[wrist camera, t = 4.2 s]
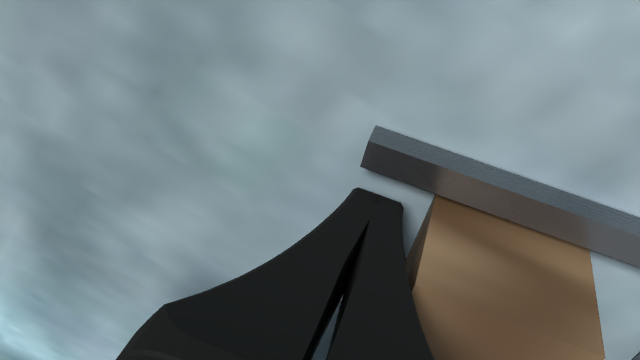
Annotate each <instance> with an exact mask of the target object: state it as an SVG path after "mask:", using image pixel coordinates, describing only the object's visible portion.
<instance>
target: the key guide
mask: <svg viewBox="0 0 640 360" xmlns="http://www.w3.org/2000/svg"><path fill="white" fill-rule="evenodd" d="M360 167H363V168H365V169H368V170H371V171H374V172H377V173H379V174H382V175H385V176H388V177H390V178H393V179H396V180H399V181H401V182H404V183H407V184H410V185H413V186H415V187H418V188H421V189H424V190H426V191H429V192H432V193H435V194H437V195H440V196H443V197H446V198H449V199H451V200H454V201H457V202H460V203H462V204H465V205H468V206H471V207H473V208H476V209H479V210H482V211H485V212H487V213H490V214H493V215H496V216H498V217H501V218H504V219H507V220H510V221H512V222H515V223H518V224H521V225H523V226H526V227H529V228H532V229H534V230H537V231H540V232H543V233H546V234H548V235H551V236H554V237H557V238H559V239H562V240H565V241H568V242H570V243H573V244H576V245H579V246H582V247H584V248H587V249H590V250H593V251H595V252H598V253H601V254H604V255H606V256H609V257H612V258H615V259H618V260H620V261H623V262H626V263H629V264H631V265H634V266H637V267H640V218H639V217H636V216H633V215H630V214H627V213H625V212H622V211H619V210H616V209H613V208H610V207H607V206H605V205H602V204H599V203H596V202H593V201H590V200H587V199H585V198H582V197H579V196H576V195H573V194H570V193H567V192H565V191H562V190H559V189H556V188H553V187H550V186H547V185H545V184H542V183H539V182H536V181H533V180H530V179H527V178H525V177H522V176H519V175H516V174H513V173H510V172H507V171H504V170H502V169H499V168H496V167H493V166H490V165H487V164H484V163H482V162H479V161H476V160H473V159H470V158H467V157H464V156H462V155H459V154H456V153H453V152H450V151H447V150H444V149H442V148H439V147H436V146H433V145H430V144H427V143H424V142H422V141H419V140H416V139H413V138H410V137H407V136H404V135H402V134H399V133H396V132H393V131H390V130H387V129H384V128H381V127H379V126H375V128H374V130H373V132H372V134H371V137H370V139H369V141H368V144H367V147H366V150H365V153H364V156H363V160H362V163H361V166H360ZM342 297H343V296H342ZM340 301H342V298H341V300H340ZM633 360H640V353H639V354H638V355H637V356H636V357H635V358H634V359H633Z"/></svg>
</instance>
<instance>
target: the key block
mask: <svg viewBox="0 0 640 360" xmlns="http://www.w3.org/2000/svg"><path fill="white" fill-rule="evenodd" d="M406 268H407V273H408V279H409V283H410V288H411V292H412V296H413V300H414V304H415V308H416V311H417V314H418V317H419V321H420V324H421V327H422V329H423V332H424V335H425V338H426V341H427V343H428V346H429V348H430V350H431V352H432V355H433V357H434V359H435V360H604V359H605V353H604V346H603V339H602V333H601V326H600V319H599V312H598V305H597V298H596V292H595V285H594V278H593V271H592V264H591V258H590V251H589V249H587V248H584V247H582V246H579V245H576V244H573V243H570V242H568V241H565V240H562V239H559V238H557V237H554V236H551V235H548V234H546V233H543V232H540V231H537V230H534V229H532V228H529V227H526V226H523V225H521V224H518V223H515V222H512V221H510V220H507V219H504V218H501V217H498V216H496V215H493V214H490V213H487V212H485V211H482V210H479V209H476V208H473V207H471V206H468V205H465V204H462V203H460V202H457V201H454V200H451V199H449V198H446V197H443V196H440V195H437V194H435V196H434V199H433V201H432V203H431V205H430V208H429V210H428V212H427V214H426V217H425V219H424V221H423V223H422V226H421V228H420V230H419V232H418V235H417V237H416V239H415V241H414V243H413V246H412V248H411V250H410V252H409V255H408V257H407V259H406Z"/></svg>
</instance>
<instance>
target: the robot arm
mask: <svg viewBox="0 0 640 360" xmlns="http://www.w3.org/2000/svg"><path fill="white" fill-rule="evenodd" d="M402 215H403V206H402V204H401V203H400V202H397V201H394V200H391V199H389V198H386V197H383V196H380V195H378V194H375V193H372V192H369V191H367V190H364V189H361V188H356V189H353V190H352V192H351V193H350V195H349V196H348V197H347V198H346V199H345V201H344V202H343V203H342V204H341V205H340V206H339V207H338V208H337V209H336V210H335V211H334V212H333V213H332V214H331V215H330V216H329V217H327V218H326V219H325V220H324V221H323V222H322V223H321V224H320V225H318V226H317V227H316V228H315V229H314V230H313V231H311V232H310V233H309V234H307V235H306V236H305V237H303V238H302V239H301V240H299V241H298V242H297V243H295V244H294V245H293V246H291V247H290V248H288V249H287V250H285V251H284V252H282V253H281V254H279V255H278V256H276V257H274V258H273V259H271V260H270V261H268V262H266V263H264V264H263V265H261V266H259V267H257V268H255V269H253V270H251V271H250V272H248V273H246V274H244V275H242V276H240V277H238V278H235V279H233V280H231V281H228V282H226V283H224V284H221V285H219V286H217V287H214V288H212V289H210V290H207V291H204V292H202V293H199V294H196V295H193V296H190V297H187V298H183V299H180V300H177V301H174V302H171V303H168V304H164V305H163V306H162V307H161V308H160V309H159V310H158V311H157V312H156V313H154V314H153V315H152V316H151V317H150V318H149V319H148V320H147V321H146V322H145V323H144V324H143V325H142V327H141V328H140V329H139V330H138V331H137V332H136V333H135V334H134V336H133V337H132V338H131V340H130V341H129V342H128V344H127V345H126V346H125V348H124V349H123V351H122V352H121V353H120V355H119V356H118V357H117V359H116V360H311V359H312V357H313V355H314V352H315V350H316V348H317V346H318V344H319V342H320V340H321V338H322V336H323V334H324V332H325V330H326V328H327V326H328V324H329V322H330V320H331V318H332V316H333V314H334V312H335V310H336V308H337V306H338V304H339V302H340V300H341V298H342V301H341V305H340V309H339V312H338V316H337V320H336V324H335V328H334V332H333V335H332V339H331V343H330V347H329V351H328V355H327V358H326V360H435V359H434V357H433V355H432V352H431V350H430V348H429V346H428V343H427V341H426V338H425V335H424V332H423V329H422V327H421V324H420V321H419V317H418V314H417V311H416V308H415V304H414V300H413V296H412V292H411V288H410V283H409V279H408V273H407V268H406V261H405V254H404V246H403V233H402ZM342 296H343V297H342Z"/></svg>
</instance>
